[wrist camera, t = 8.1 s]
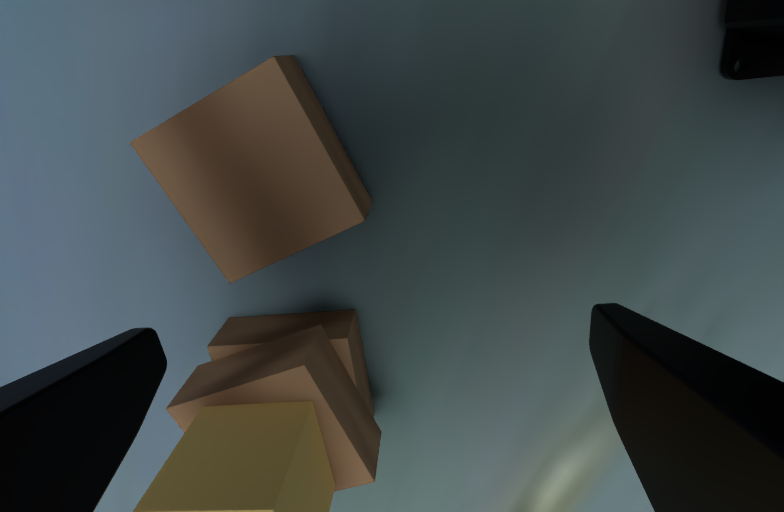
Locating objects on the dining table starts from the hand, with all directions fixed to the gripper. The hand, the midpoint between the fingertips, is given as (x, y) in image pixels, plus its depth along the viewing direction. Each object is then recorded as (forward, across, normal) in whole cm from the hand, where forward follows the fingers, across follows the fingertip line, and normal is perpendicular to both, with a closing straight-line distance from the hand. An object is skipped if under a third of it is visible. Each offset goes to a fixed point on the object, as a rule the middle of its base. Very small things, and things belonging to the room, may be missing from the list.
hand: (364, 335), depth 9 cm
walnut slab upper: (+10, +6, +10) cm, 16 cm away
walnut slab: (+13, +6, -1) cm, 14 cm away
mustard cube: (+7, +7, +10) cm, 14 cm away
